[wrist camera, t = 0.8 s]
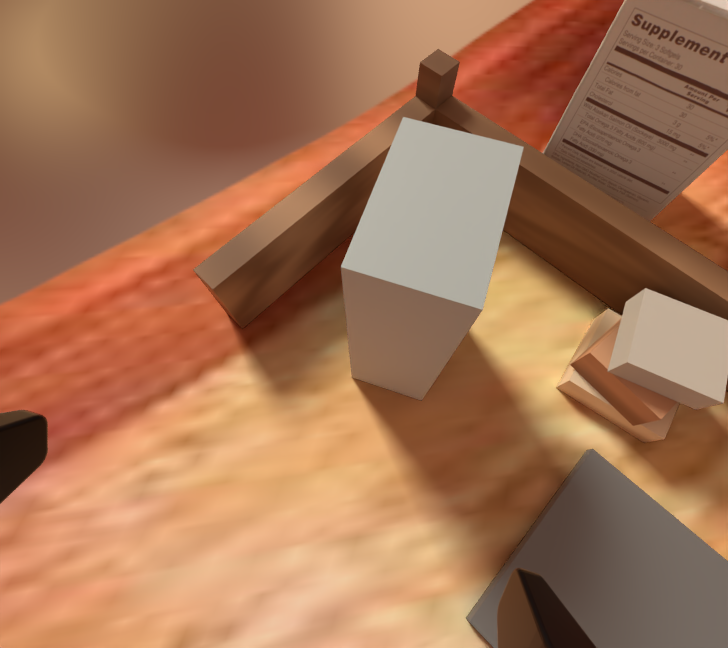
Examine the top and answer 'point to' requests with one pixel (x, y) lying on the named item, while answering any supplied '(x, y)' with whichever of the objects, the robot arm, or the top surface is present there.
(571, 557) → the mat
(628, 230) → the frame
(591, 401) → the offcut birch
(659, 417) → the offcut cherry
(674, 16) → the supplement box
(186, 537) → the top surface
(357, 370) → the block
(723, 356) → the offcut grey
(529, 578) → the robot arm
